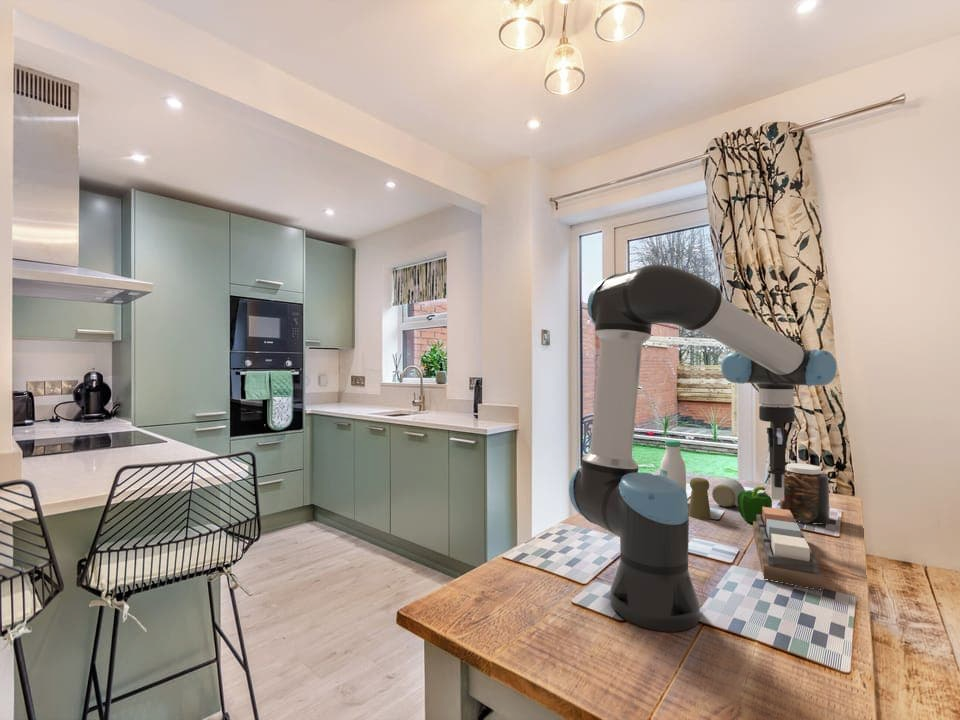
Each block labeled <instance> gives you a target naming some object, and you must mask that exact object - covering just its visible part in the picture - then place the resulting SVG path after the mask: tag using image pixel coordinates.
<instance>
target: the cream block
mask: <svg viewBox="0 0 960 720" xmlns="http://www.w3.org/2000/svg"><path fill="white" fill-rule="evenodd" d="M805 539H806V537H804V538H799V537H792V536H786V535H779V534H772V533H771V548H772V551H773V554H774V556H779V557H785V558H791V559H797V560H803V561H810V549H811V548H810V546H808V545H809V543H808V541H807V540H805ZM806 541H807V542H806ZM807 543H808V544H807Z"/></svg>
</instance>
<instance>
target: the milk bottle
mask: <svg viewBox="0 0 960 720" xmlns="http://www.w3.org/2000/svg"><path fill="white" fill-rule="evenodd" d="M664 447H665V452H664V455H663V457H662V459H661V461H660V468H659V475H660V476H663V477H666V478H669V479H671V480H673V481H675V482H677V483H678V484H679V485H681V486H682V487H683V489H684V490H685V492H686V493H687V471H686V469H687V468H686V463H685V461H684V459H683V457H682V454H681V441H680V440H676V439H667V440H665V442H664Z"/></svg>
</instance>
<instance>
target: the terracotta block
mask: <svg viewBox="0 0 960 720" xmlns="http://www.w3.org/2000/svg"><path fill="white" fill-rule="evenodd" d="M762 519H763V522H764V524H766V519H771V520H778V521H786V522H794V517H793V515H792V513H791V511H790V510H785V509H780V508H777V507H776V508H775V507H772V508H769V507H762Z"/></svg>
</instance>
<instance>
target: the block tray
mask: <svg viewBox="0 0 960 720" xmlns="http://www.w3.org/2000/svg"><path fill="white" fill-rule="evenodd" d="M794 523H797V525H798V527H799V529H800V530H801V528H800V526H799V524H798V522H796V520H795V519H794ZM752 533H753V537H754V543H755V546H756V550H757V556H758V559H759V564H760V568H761V572H762V576H764V577H763V580H764V579H768V580H773V581H778V582H783V583H788V584H793V585H797V586H796V587H798V586H801V587H800V588H803V587H808V588H807V589H809V588H814V589H821V590H824V591H825V576H824V573H823V572H822V569H821V568H820V566H819V563H818V560H817V559H816V557H815V555H814V553H813V551H812V550H811V548H810V561H803V560H797V559H791V558H785V557H779V556H774V554H773V551H772V548H771V539H770V538H768V535H767V531H766V524H764V522H763V519H762V515H759V514H757V521H753V523H752ZM801 538H805V535H804V534H803V532H801ZM805 540H806V538H805ZM806 542H807V544H808V546H809V543H808V541H807V540H806ZM809 547H810V546H809ZM793 585H792V586H793ZM814 589H813V590H814Z"/></svg>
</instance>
